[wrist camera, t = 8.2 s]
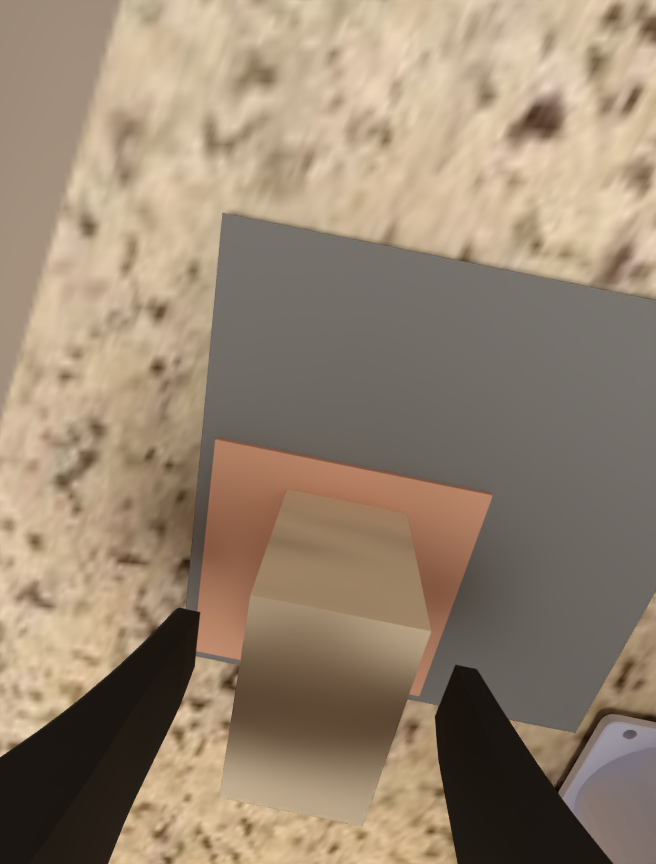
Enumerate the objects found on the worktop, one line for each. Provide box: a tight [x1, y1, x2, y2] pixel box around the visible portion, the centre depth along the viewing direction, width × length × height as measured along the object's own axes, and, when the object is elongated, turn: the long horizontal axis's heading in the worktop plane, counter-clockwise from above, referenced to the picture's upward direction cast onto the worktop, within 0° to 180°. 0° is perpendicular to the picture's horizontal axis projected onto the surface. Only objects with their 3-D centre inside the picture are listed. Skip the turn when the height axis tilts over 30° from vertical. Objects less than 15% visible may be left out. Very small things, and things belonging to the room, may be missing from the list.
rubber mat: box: [186, 213, 656, 733], centre depth 14 cm, size 16×16×1 cm
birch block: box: [219, 489, 431, 827], centre depth 13 cm, size 7×4×5 cm, turn 169°
